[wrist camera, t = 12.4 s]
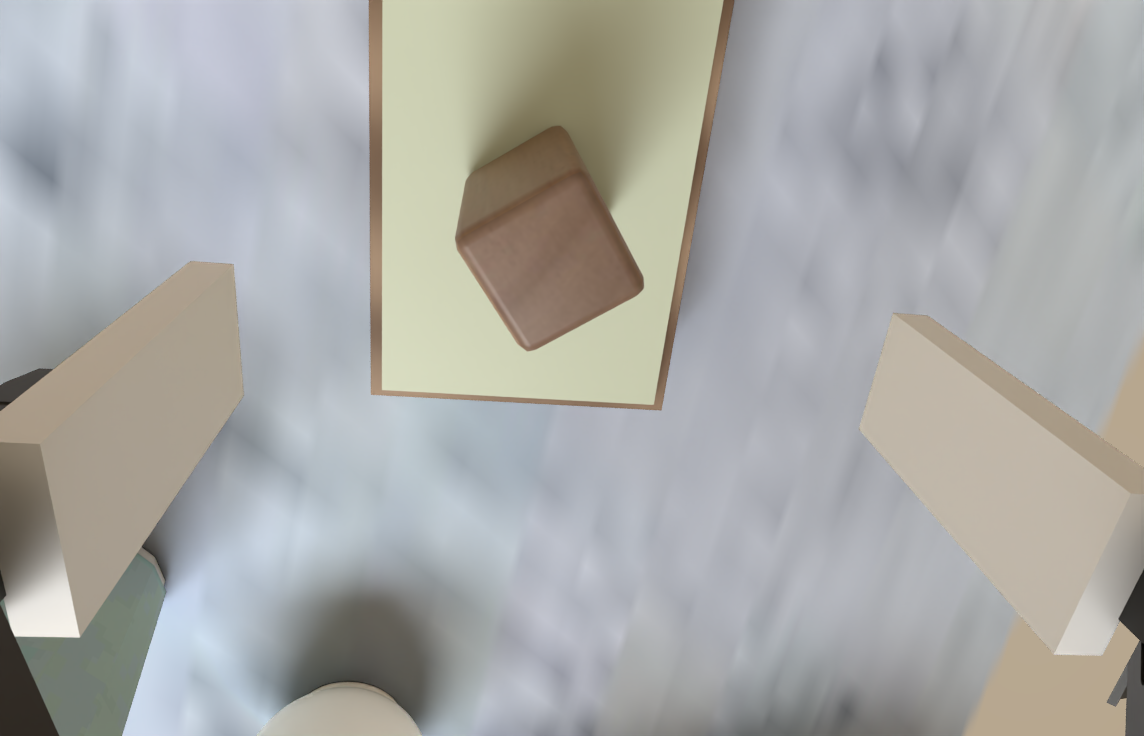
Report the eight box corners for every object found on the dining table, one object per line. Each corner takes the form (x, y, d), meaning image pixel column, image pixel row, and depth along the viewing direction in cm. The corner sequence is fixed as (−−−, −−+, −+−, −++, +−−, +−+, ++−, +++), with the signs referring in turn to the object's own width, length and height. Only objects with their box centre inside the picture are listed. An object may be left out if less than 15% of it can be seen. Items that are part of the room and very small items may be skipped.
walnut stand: (643, 364, 36) (663, 415, 32) (385, 348, 35) (368, 400, 30) (713, -68, 29) (752, -80, 24) (387, -111, 27) (365, -133, 23)
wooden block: (613, 218, 28) (652, 293, 21) (518, 270, 29) (525, 361, 21) (560, 119, 26) (583, 163, 19) (461, 176, 27) (447, 241, 20)
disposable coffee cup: (135, 464, 36) (-78, 737, 23) (254, 620, 41) (134, 923, 28) (-60, 537, 37) (-376, 842, 24) (79, 682, 42) (-121, 1006, 28)
